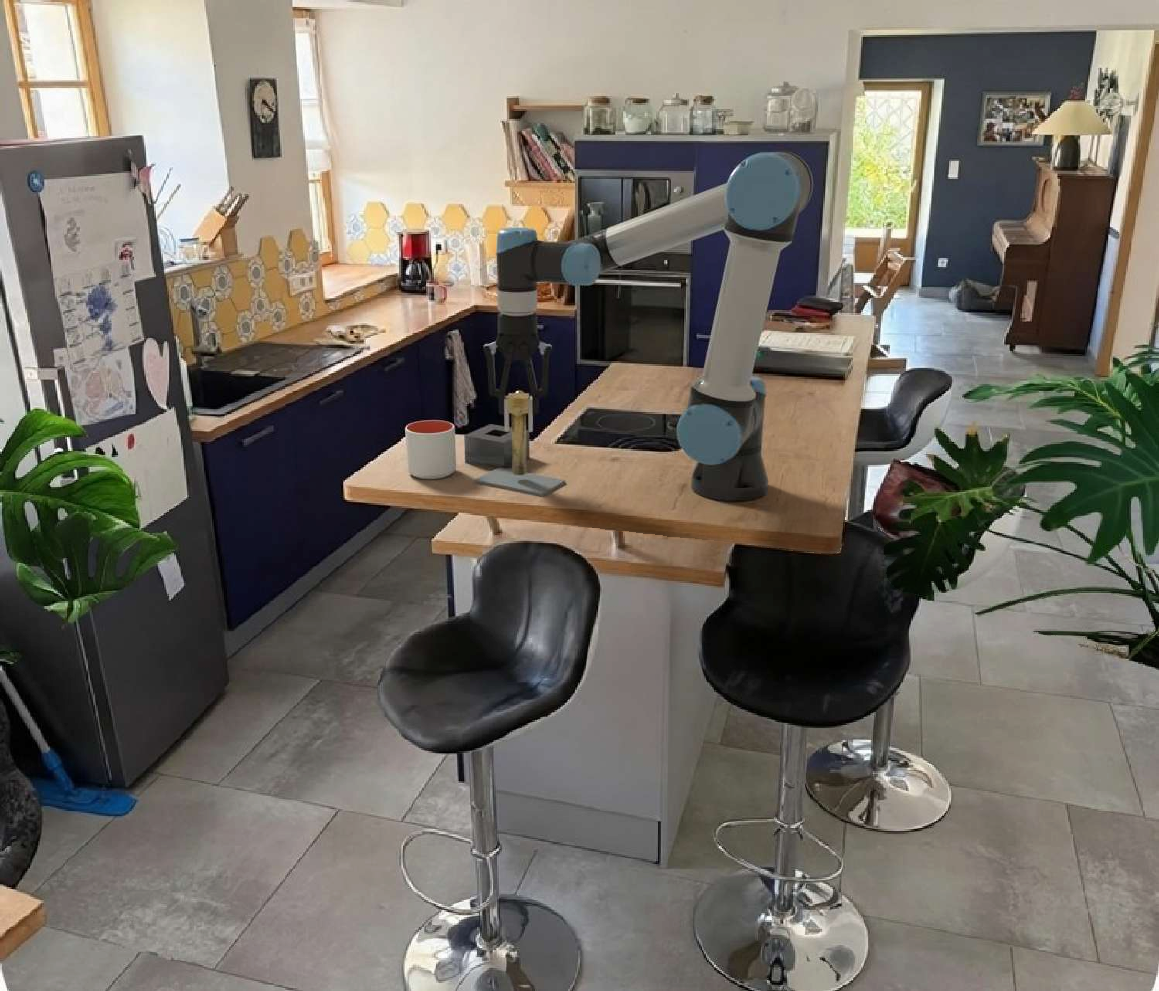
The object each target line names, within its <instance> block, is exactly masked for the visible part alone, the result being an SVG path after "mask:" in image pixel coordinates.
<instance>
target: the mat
mask: <svg viewBox="0 0 1159 991" xmlns="http://www.w3.org/2000/svg"><path fill="white" fill-rule="evenodd" d="M474 483H475V484H480V485H485V486H490V487H495V488H500V489H504V490H510V491H515V492H519V493H525V494H527V495H528V494H529V495H534V496H539V497H544V496H546V495H547V494H549V493H551V492H553V491H554V490H556V489H557V488H560V487H561V486H563V485H564V484H566V480H565V479H561V478H555V477H551V476H547V475H540V474H535V473H530V472H526V474H524V475H514V474H513V473H512V469H510V468H508V469H505V468H500V467H499V468H497V469H496V468H494V469H493V470H490V471H489V472H487V473H485V474H483V475H481V476H479V477H477V478H475V479H474Z"/></svg>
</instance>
